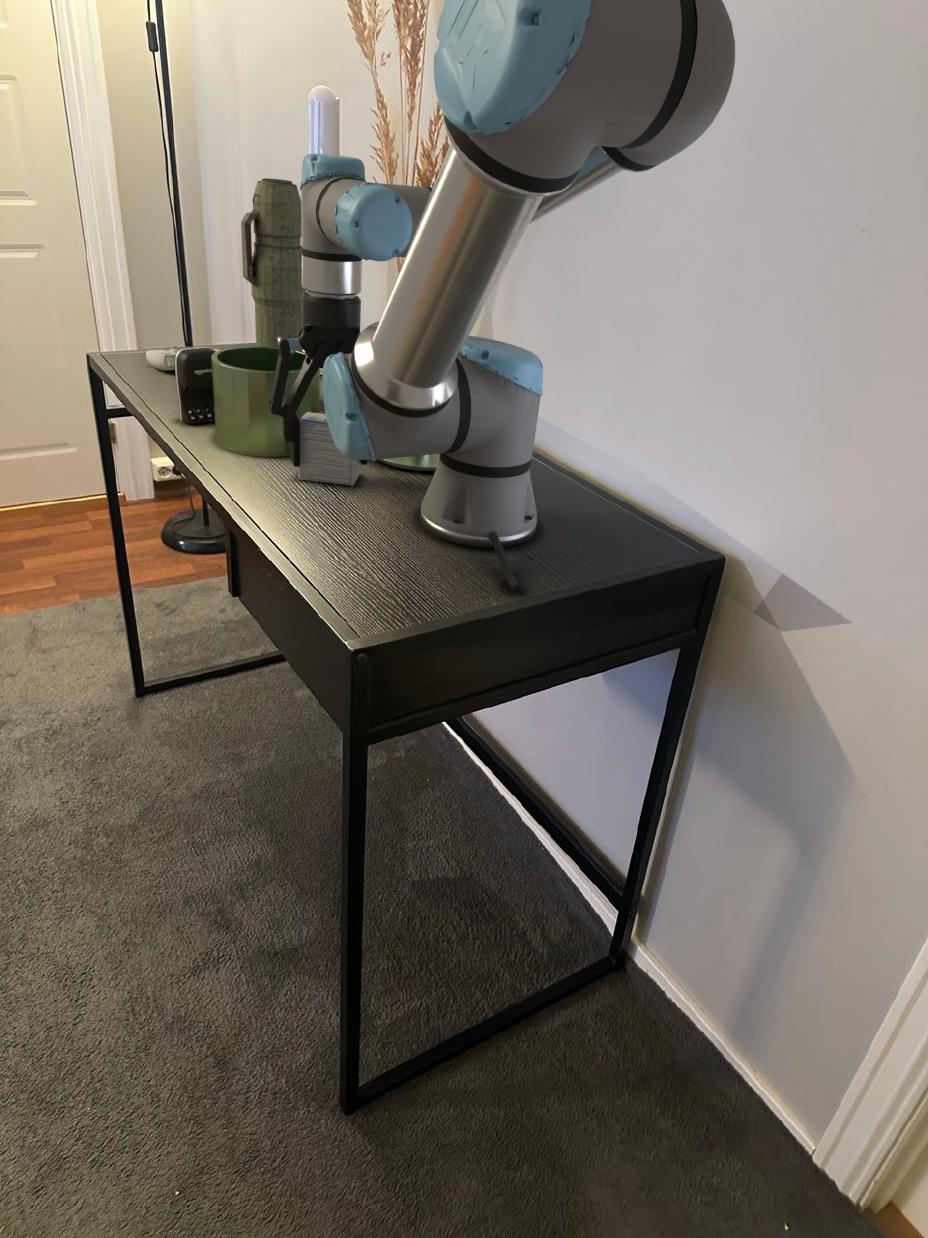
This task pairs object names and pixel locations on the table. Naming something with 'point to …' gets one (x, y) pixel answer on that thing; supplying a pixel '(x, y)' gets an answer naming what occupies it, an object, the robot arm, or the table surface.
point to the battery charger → (195, 385)
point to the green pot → (255, 399)
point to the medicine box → (323, 453)
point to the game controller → (163, 358)
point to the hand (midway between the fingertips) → (329, 462)
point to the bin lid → (415, 462)
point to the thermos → (274, 260)
